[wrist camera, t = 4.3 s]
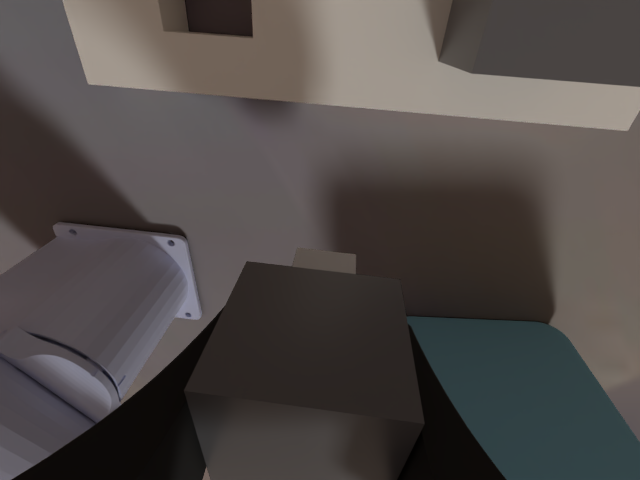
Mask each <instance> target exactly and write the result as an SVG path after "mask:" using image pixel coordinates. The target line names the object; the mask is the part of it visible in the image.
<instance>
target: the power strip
mask: <svg viewBox="0 0 640 480" xmlns="http://www.w3.org/2000/svg"><path fill="white" fill-rule="evenodd" d="M62 1H63V4H64V8H65V11H66V14H67V17H68V21H69V24H70V27H71V30H72V33H73V37H74V40H75V43H76V46H77V50H78V53H79V56H80V59H81V62H82V66H83V69H84V72H85V75H86V79H87V82H88V84H92V85H103V86H115V87H127V88H138V89H150V90H161V91H173V92H184V93H196V94H207V95H219V96H230V97H242V98H253V99H265V100H276V101H288V102H299V103H311V104H323V105H334V106H346V107H357V108H369V109H380V110H392V111H403V112H415V113H426V114H438V115H449V116H461V117H472V118H484V119H496V120H507V121H519V122H530V123H542V124H553V125H565V126H576V127H588V128H599V129H611V130H622V131H628V129H629V128H630V126H631V124H632V122H633V121H634V119H635V117H636V116H637V114H638V112H639V111H640V0H251V3H252V25H253V36H240V35H227V34H214V33H201V32H189V27H188V20H187V13H186V6H185V0H62Z"/></svg>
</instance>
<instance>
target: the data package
mask: <svg viewBox="0 0 640 480" xmlns="http://www.w3.org/2000/svg"><path fill="white" fill-rule="evenodd" d="M407 323H408V324H409V325H410V326H411V327H412V329H413V331H414V334H415V336H416V338H417V340H418V342H419V344H420V346H421V348H422V350H423V352H424V354H425V356H426V358H427V360H428V362H429V364H430V366H431V368H432V369H433V371H434V373H435V375H436V376H437V378H438V380H439V382H440V383H441V385H442V387H443V389H444V390H445V392H446V394H447V395H448V397H449V399H450V400H451V402H452V404H453V405H454V407H455V408H456V410H457V411H458V413H459V415H460V416H461V418H462V419H463V421H464V422H465V424H466V425H467V427H468V428H469V430H470V431H471V433H472V434H473V435H474V437H475V438H476V440H477V441H478V442H479V444H480V445H481V447H482V448H483V449H484V451H485V452H486V453H487V455H488V456H489V457H490V459H491V460H492V461H493V463H494V464H495V465H496V467H497V468H498V469H499V471H500V472H501V473H502V475H503V476H504V477H505V478H506V479H507V480H640V442H639V441H638V439H637V438H636V436H635V435H634V433H633V432H632V430H631V429H630V428H629V426H628V425H627V424H626V422H625V420H624V419H623V417H622V416H621V414H620V413H619V412H618V410H617V409H616V407H615V406H614V404H613V403H612V401H611V400H610V398H609V397H608V395H607V394H606V393H605V391H604V390H603V388H602V387H601V385H600V384H599V382H598V381H597V379H596V378H595V377H594V375H593V374H592V372H591V371H590V369H589V368H588V366H587V365H586V363H585V362H584V361H583V359H582V358H581V356H580V355H579V353H578V352H577V350H576V349H575V347H574V346H573V345H572V343H571V342H570V340H569V339H568V338H567V337H566V336H565V335H564V334H563V333H562V332H561V331H559V330H558V329H556V328H554V327H552V326H550V325H547V324H544V323H541V322H534V321H510V320H487V319H463V318H440V317H416V316H408V317H407Z"/></svg>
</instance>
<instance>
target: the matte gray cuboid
mask: <svg viewBox="0 0 640 480" xmlns="http://www.w3.org/2000/svg"><path fill="white" fill-rule="evenodd" d="M184 393H185V396H186V399H187V403H188V406H189V409H190V413H191V416H192V419H193V423H194V426H195V429H196V433H197V436H198V439H199V443H200V446H201V449H202V453H203V456H204V459H205V463H206V466H207V470H208V473H209V476H210V480H397V479H398V477H399V475H400V473H401V471H402V469H403V467H404V465H405V463H406V461H407V459H408V457H409V455H410V453H411V451H412V449H413V447H414V445H415V442H416V440H417V438H418V436H419V434H420V432H421V430H422V428H423V426H424V424H425V423H424V417H423V411H422V405H421V399H420V393H419V387H418V381H417V376H416V370H415V364H414V358H413V352H412V346H411V340H410V334H409V328H408V323H407V317H406V311H405V305H404V299H403V293H402V287H401V281H400V279H394V278H385V277H377V276H368V275H359V274H356V254H349V253H340V252H332V251H323V250H314V249H305V248H297V251H296V254H295V258H294V261H293V265H292V267H291V266H282V265H274V264H265V263H257V262H248V261H247V262H246V264H245V266H244V268H243V270H242V272H241V274H240V276H239V278H238V280H237V282H236V285H235V287H234V289H233V291H232V293H231V295H230V297H229V299H228V301H227V303H226V305H225V307H224V309H223V311H222V313H221V315H220V317H219V320H218V322H217V324H216V326H215V328H214V330H213V332H212V334H211V336H210V338H209V340H208V342H207V344H206V346H205V348H204V350H203V352H202V354H201V357H200V359H199V361H198V363H197V365H196V367H195V369H194V371H193V373H192V375H191V377H190V379H189V381H188V383H187V385H186V387H185V389H184Z"/></svg>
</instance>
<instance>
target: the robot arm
mask: <svg viewBox="0 0 640 480" xmlns="http://www.w3.org/2000/svg"><path fill="white" fill-rule="evenodd" d="M53 231H54V233H55V235H56V238H54V239H53V240H52V241H50V242H49V243H47V244H46V245H44V246H43V247H41V248H40V249H38V250H37V251H35V252H34V253H32V254H31V255H29V256H28V257H27V258H25V259H24V260H22V261H21V262H19V263H18V264H16V265H15V266H13V267H12V268H10V269H9V270H7V271H6V272H4V273H3V274H2V275H0V480H202V479H203V476H204V472H205V469H206V463H205V459H204V456H203V453H202V449H201V446H200V443H199V439H198V436H197V433H196V429H195V426H194V423H193V419H192V416H191V413H190V409H189V406H188V403H187V399H186V396H185V393H184V389H185V387H186V385H187V383H188V381H189V379H190V377H191V375H192V373H193V371H194V369H195V367H196V365H197V363H198V361H199V359H200V357H201V354H202V352H203V350H204V348H205V346H206V344H207V342H208V340H209V338H210V336H211V334H212V332H213V330H214V328H215V326H216V324H217V322H218V320H219V317H220V315H221V313H222V311H223V309H224V308H223V309H222V310H221V311H220V312H219V313H218V314H217V316H216V317H215V318H214V319H213V320H212V321H211V322H210V323H209V324H208V326H207V327H206V328H205V329H204V330H203V331H202V332H201V333H200V334H199V335H198V336H197V337H196V338H195V339H194V340H193V341H192V342H191V343H190V344H189V345H188V346H187V347H186V348H185V349H184V350H183V351H182V352H181V353H180V354H179V355H178V356H177V357H176V358H175V359H174V360H173V361H172V362H171V363H170V364H169V365H168V366H167V367H165V368H164V369H163V370H162V371H161V372H160V373H159V374H158V375H157V376H156V377H154V378H153V379H152V380H151V381H150V382H149V383H148V384H146V385H145V386H144V387H143V388H142V389H140V390H139V391H138V392H137V393H136V394H134V395H133V396H132V397H131V398H129V399H128V400H127V401H126V402H124V403H123V404H122V405H121V403H120V401H121V400H122V398H123V397H124V395H125V394H126V392H127V391H128V389H129V387H130V386H131V384H132V383H133V381H134V380H135V378H136V377H137V375H138V373H139V372H140V370H141V369H142V367H143V366H144V364H145V363H146V361H147V359H148V358H149V356H150V355H151V353H152V352H153V350H154V349H155V347H156V345H157V344H158V342H159V341H160V339H161V338H162V336H163V335H164V333H165V331H166V330H167V328H168V327H169V325H170V324H171V322H172V321H173V319H174V318H175V317H179V318H187V319H195V320H196V319H200V317H201V316H202V311H201V306H200V301H199V296H198V291H197V286H196V281H195V276H194V271H193V267H192V262H191V257H190V252H189V247H188V242H187V240H186V238H185V237H183V236H181V235H174V234H165V233H156V232H146V231H137V230H128V229H119V228H110V227H101V226H92V225H83V224H73V223H64V222H58V223H56V224H55V225H53ZM171 240H172V241H173V242H174V243H172V242H171ZM224 307H225V306H224ZM408 328H409V334H410V340H411V346H412V352H413V358H414V364H415V370H416V376H417V381H418V387H419V393H420V399H421V405H422V411H423V417H424V423H425V424H424V426H423V428H422V430H421V432H420V434H419V436H418V438H417V440H416V442H415V445H414V447H413V449H412V451H411V453H410V455H409V457H408V459H407V461H406V463H405V465H404V467H403V469H402V471H401V473H400V475H399V477H398V479H397V480H507V479H506V478H505V477H504V476H503V475H502V473H501V472H500V471H499V469H498V468H497V467H496V465H495V464H494V463H493V461H492V460H491V459H490V457H489V456H488V455H487V453H486V452H485V451H484V449H483V448H482V447H481V445H480V444H479V442H478V441H477V440H476V438H475V437H474V435H473V434H472V433H471V431H470V430H469V428H468V427H467V425H466V424H465V422H464V421H463V419H462V418H461V416H460V415H459V413H458V411H457V410H456V408H455V407H454V405H453V404H452V402H451V400H450V399H449V397H448V395H447V394H446V392H445V390H444V389H443V387H442V385H441V383H440V382H439V380H438V378H437V376H436V375H435V373H434V371H433V369H432V368H431V366H430V364H429V362H428V360H427V358H426V356H425V354H424V352H423V350H422V348H421V346H420V344H419V342H418V340H417V338H416V336H415V334H414V331H413V329H412V327H411V326H410V325H409V324H408Z"/></svg>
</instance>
